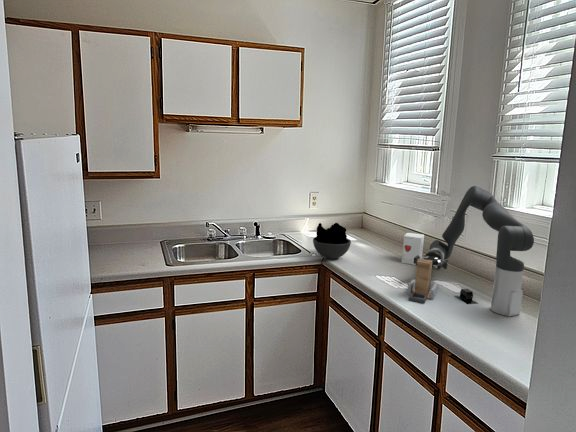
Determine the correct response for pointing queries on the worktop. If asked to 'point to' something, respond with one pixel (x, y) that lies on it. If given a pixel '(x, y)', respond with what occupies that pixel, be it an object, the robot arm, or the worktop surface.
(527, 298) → the worktop surface
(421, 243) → the supplement box
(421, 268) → the walnut block
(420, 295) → the trap pit
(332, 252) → the heaped charcoal-grey bowl
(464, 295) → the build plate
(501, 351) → the worktop surface
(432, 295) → the grey cradle
